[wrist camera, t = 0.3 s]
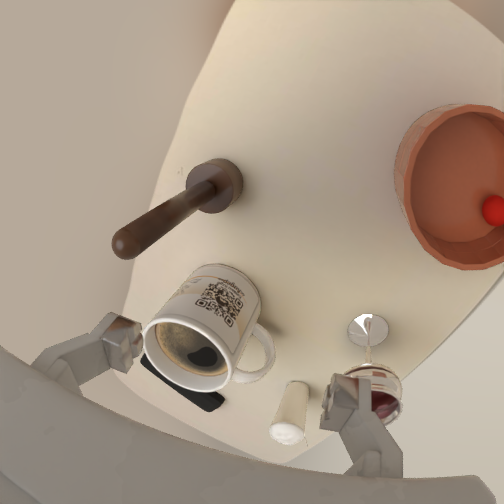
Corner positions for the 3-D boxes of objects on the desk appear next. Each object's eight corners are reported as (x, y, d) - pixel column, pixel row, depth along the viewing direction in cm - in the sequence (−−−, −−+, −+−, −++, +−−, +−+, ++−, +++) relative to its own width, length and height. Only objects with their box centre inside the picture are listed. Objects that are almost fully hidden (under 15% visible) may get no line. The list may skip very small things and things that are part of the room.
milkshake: (321, 397, 42) (311, 454, 33) (286, 398, 44) (270, 453, 35) (316, 376, 40) (303, 436, 32) (278, 378, 42) (260, 435, 34)
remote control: (143, 355, 50) (212, 409, 50) (137, 361, 48) (208, 416, 49) (153, 342, 47) (226, 399, 48) (147, 348, 46) (222, 407, 46)
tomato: (483, 187, 24) (495, 195, 22) (505, 197, 24) (517, 206, 21) (473, 215, 26) (484, 225, 23) (495, 223, 25) (507, 235, 23)
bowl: (412, 83, 23) (426, 78, 18) (530, 137, 21) (558, 145, 16) (376, 223, 30) (381, 245, 25) (490, 260, 27) (508, 286, 23)
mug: (243, 250, 35) (203, 307, 26) (287, 334, 39) (265, 402, 29) (173, 276, 40) (124, 327, 30) (218, 348, 43) (185, 407, 33)
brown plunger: (200, 154, 32) (85, 203, 17) (246, 163, 31) (152, 221, 16) (196, 199, 34) (91, 273, 20) (239, 209, 33) (152, 297, 19)
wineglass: (381, 357, 36) (382, 435, 26) (332, 343, 37) (320, 422, 27) (405, 316, 33) (417, 396, 23) (352, 301, 34) (347, 380, 24)
